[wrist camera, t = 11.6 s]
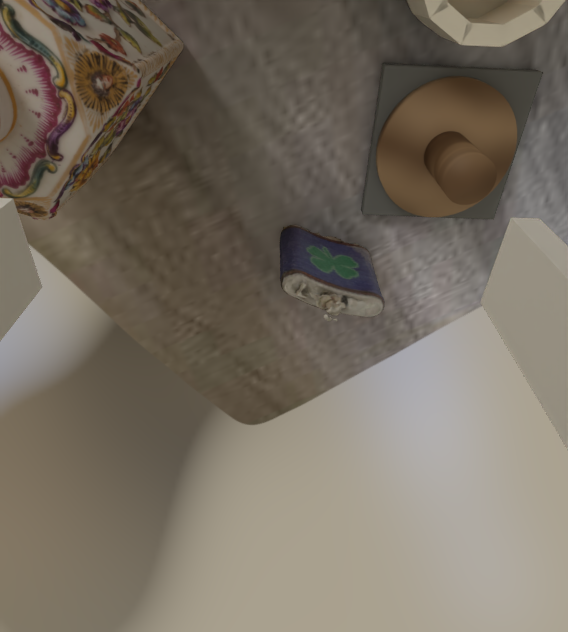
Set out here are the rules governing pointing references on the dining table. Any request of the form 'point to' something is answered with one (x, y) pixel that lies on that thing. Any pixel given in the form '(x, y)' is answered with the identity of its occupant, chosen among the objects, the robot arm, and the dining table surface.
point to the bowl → (484, 19)
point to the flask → (328, 273)
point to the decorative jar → (72, 91)
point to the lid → (446, 146)
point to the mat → (409, 77)
